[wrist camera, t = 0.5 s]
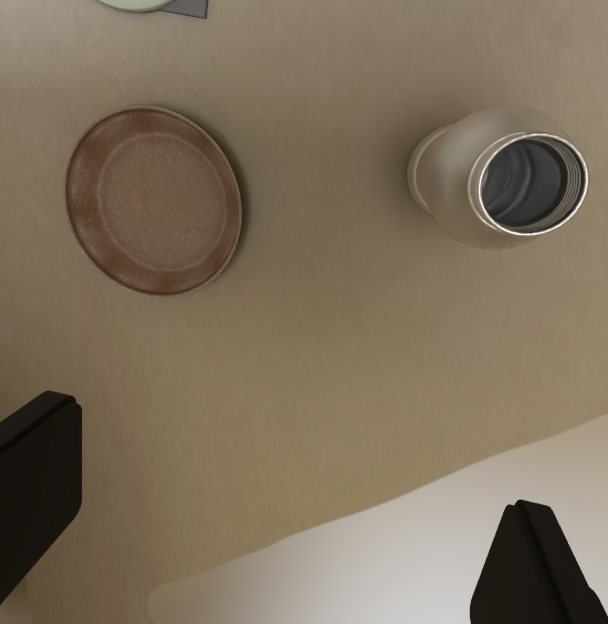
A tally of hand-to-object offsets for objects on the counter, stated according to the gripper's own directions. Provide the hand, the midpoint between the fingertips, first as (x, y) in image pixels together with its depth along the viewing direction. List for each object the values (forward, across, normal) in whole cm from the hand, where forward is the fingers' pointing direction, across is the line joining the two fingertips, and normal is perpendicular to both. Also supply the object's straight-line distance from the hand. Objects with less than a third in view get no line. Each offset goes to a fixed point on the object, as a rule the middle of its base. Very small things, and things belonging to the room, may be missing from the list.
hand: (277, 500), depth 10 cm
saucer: (+30, +16, -1) cm, 34 cm away
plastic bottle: (+30, -6, -7) cm, 31 cm away
